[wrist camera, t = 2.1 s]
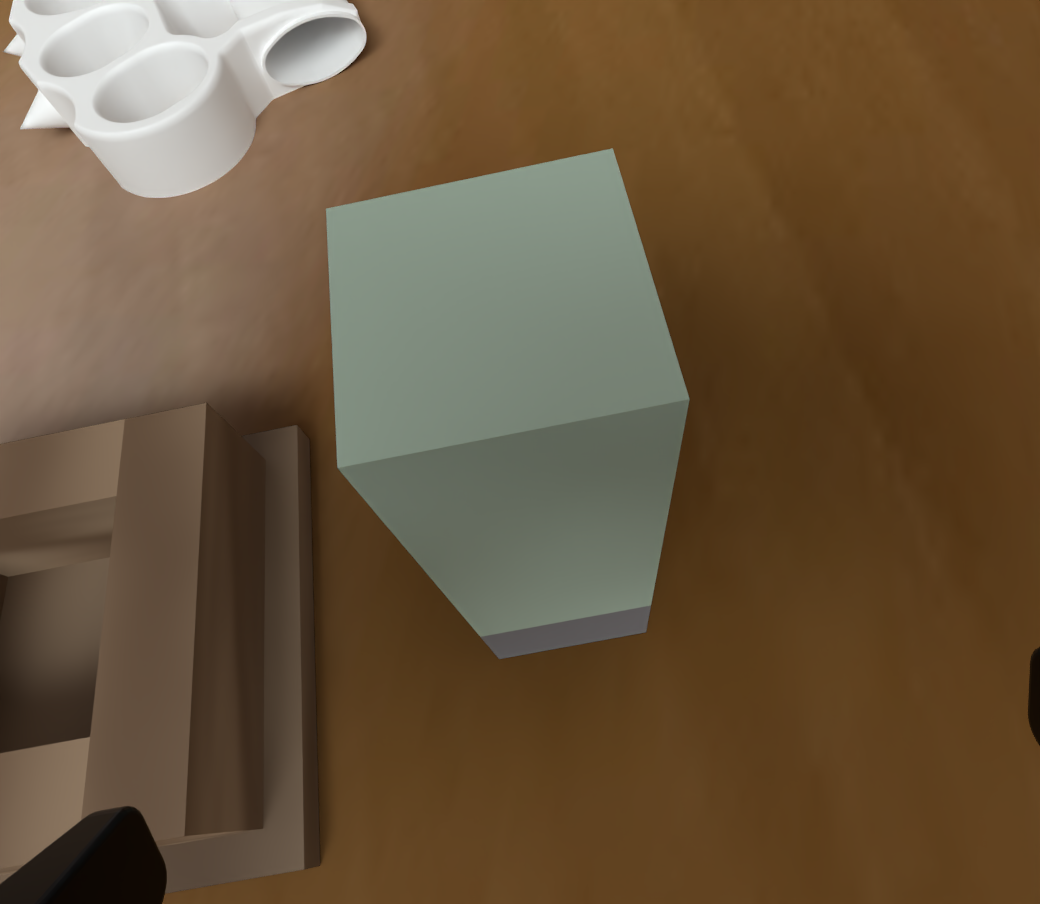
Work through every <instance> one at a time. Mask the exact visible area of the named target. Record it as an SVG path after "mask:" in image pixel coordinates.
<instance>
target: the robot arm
mask: <svg viewBox="0 0 1040 904" xmlns="http://www.w3.org/2000/svg"><path fill="white" fill-rule="evenodd" d="M1028 719H1029V724H1030V727H1031V730H1032V733H1033V735H1034V737H1035V739H1036V741H1037V742H1038V744H1039V745H1040V647H1039V648H1037V649H1035V651H1034V652H1033V654H1032V656H1031V660H1030V678H1029V700H1028ZM166 884H167V870H166V865H165V862H164V859H163V857H162V855H161V853H160V851H159V849H158V846H157V844H156V842H155V840H154V838H153V836H152V834H151V832H150V830H149V827H148V825H147V823H146V821H145V819H144V817H143V815H142V813H141V812H140V811H139V810H138V809H136V808H135V807H132V806H123V807H117V808H111V809H106V810H100V811H97V812H93V813H91V814H89V815H88V816H86V817H85V818H83V819H82V820H81V821H80V822H78V823H77V824H76V825H74V826H73V827H72V828H71V829H69V830H68V831H67V832H66V833H64V834H63V835H62V836H60V837H59V838H58V839H57V840H55V841H54V842H53V843H52V844H50V845H49V846H48V847H46V848H45V849H44V850H43V851H41V852H40V853H39V854H38V855H36V856H35V857H34V858H32V859H31V860H30V861H29V862H27V863H26V864H25V865H24V866H22V867H21V868H20V869H18V870H17V871H16V872H15V873H13V874H12V875H11V876H10V877H8V878H7V879H6V880H4V881H3V882H2V883H1V884H0V904H162V902H163V899H164V895H165V891H166Z"/></svg>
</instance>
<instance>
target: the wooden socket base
mask: <svg viewBox="0 0 1040 904" xmlns="http://www.w3.org/2000/svg"><path fill="white" fill-rule="evenodd" d="M123 806H132V807H135V808H136V809H138V810H139V811H140V812H141V813H142V815H143V817H144V819H145V821H146V823H147V825H148V827H149V830H150V832H151V834H152V836H153V838H154V840H155V842H156V844H157V846H158V849H159V851H160V853H161V855H162V857H163V859H164V862H165V865H166V870H167V884H166V891H165V893H171V892H177V891H182V890H188V889H194V888H200V887H205V886H211V885H217V884H223V883H229V882H234V881H240V880H246V879H252V878H257V877H263V876H269V875H275V874H281V873H286V872H292V871H298V870H304V869H308V868H312V867H317V866H320V840H319V800H318V759H317V719H316V679H315V639H314V598H313V558H312V518H311V477H310V439H309V438H308V437H307V436H306V435H305V434H304V432H303V431H302V430H301V429H300V428H299V427H298V425H294V426H289V427H284V428H279V429H274V430H269V431H264V432H259V433H254V434H249V435H244V436H240V435H239V434H238V433H237V432H236V431H235V430H234V429H233V428H232V427H231V426H230V425H229V424H228V423H227V422H226V421H225V420H224V419H223V418H222V417H221V416H220V415H219V414H218V413H216V412H215V411H214V410H213V409H212V408H211V407H210V406H209V405H208V404H207V403H203V404H198V405H193V406H188V407H183V408H178V409H173V410H168V411H163V412H158V413H153V414H148V415H143V416H138V417H133V418H128V419H123V420H118V421H113V422H108V423H103V424H98V425H93V426H88V427H83V428H78V429H73V430H68V431H63V432H58V433H53V434H48V435H43V436H38V437H33V438H28V439H23V440H18V441H13V442H8V443H3V444H0V884H1V883H2V882H3V881H4V880H6V879H7V878H8V877H10V876H11V875H12V874H13V873H15V872H16V871H17V870H18V869H20V868H21V867H22V866H24V865H25V864H26V863H27V862H29V861H30V860H31V859H32V858H34V857H35V856H36V855H38V854H39V853H40V852H41V851H43V850H44V849H45V848H46V847H48V846H49V845H50V844H52V843H53V842H54V841H55V840H57V839H58V838H59V837H60V836H62V835H63V834H64V833H66V832H67V831H68V830H69V829H71V828H72V827H73V826H74V825H76V824H77V823H78V822H80V821H81V820H82V819H83V818H85V817H86V816H88V815H89V814H91V813H93V812H97V811H100V810H106V809H111V808H117V807H123Z"/></svg>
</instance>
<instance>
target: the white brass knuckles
mask: <svg viewBox="0 0 1040 904" xmlns="http://www.w3.org/2000/svg"><path fill="white" fill-rule="evenodd" d="M9 22H10V25H11V26H12V28H13V29H14V30H15V31H16V33H17V35H16V36H15V37H14V39H13V40H12V41H11V43H10V44H9V45H8V46H7V48H6V49H5V50H4V51H3V52H5V53H9V54H13V55H17V56H21V58H20V60H19V65H20V67H21V69H22V70H23V71H24V73H25V74H26V75H27V76H28V77H29V79H30V80H31V81H32V82H33V84H34V85H35V86H36V87H37V89H38V90H39V91H38V93H37V95H36V97H35V99H34V101H33V103H32V105H31V107H30V109H29V111H28V114H27V116H26V118H25V120H24V122H23V124H22V126H21V128H20V129H43V128H70V129H71V130H72V131H73V132H74V133H75V135H76V136H77V137H78V138H79V139H80V140H81V142H82V143H83V144H84V145H85V146H87V147H90V148H91V149H92V151H93V152H94V153H95V154H96V156H97V157H98V158H99V159H100V161H101V162H102V163H103V164H104V166H105V167H106V168H107V169H108V171H109V172H110V173H111V174H112V176H113V177H114V178H115V179H116V180H117V182H118V183H119V184H120V185H121V187H122V188H124V189H125V190H127V191H128V192H131V193H133V194H136V195H139V196H143V197H150V198H165V197H173V196H178V195H183V194H186V193H190V192H193V191H195V190H198V189H200V188H203V187H205V186H207V185H209V184H211V183H212V182H214V181H216V180H217V179H219V178H220V177H222V176H223V175H225V174H226V173H227V172H229V171H230V170H231V169H232V168H233V167H234V166H235V165H236V164H237V163H238V162H239V161H240V160H241V159H242V158H243V156H244V155H245V154H246V152H247V151H248V149H249V147H250V145H251V143H252V141H253V138H254V135H255V130H256V118H257V117H258V115H259V114H260V113H261V112H262V111H263V110H264V109H265V108H266V107H267V105H268V104H269V103H270V102H271V101H272V100H273V99H275V98H277V97H279V96H282V95H284V94H286V93H289V92H291V91H294V90H296V89H298V88H301V87H303V86H305V85H310V84H314V83H318V82H321V81H324V80H326V79H329V78H331V77H333V76H335V75H336V74H338V73H340V72H341V71H342V70H344V69H345V68H346V67H348V66H349V65H350V64H351V63H352V62H353V61H354V60H355V59H356V58H357V57H358V55H359V54H360V53H361V52H362V50H363V48H364V46H365V43H366V31H365V28H364V26H363V24H362V23H361V21H360V18H359V14H358V11H357V9H356V8H355V6H354V5H353V4H351V3H348V1H347V0H13V4H12V8H11V13H10V17H9Z"/></svg>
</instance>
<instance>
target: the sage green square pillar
mask: <svg viewBox="0 0 1040 904" xmlns="http://www.w3.org/2000/svg"><path fill="white" fill-rule="evenodd" d="M326 219H327V242H328V265H329V287H330V310H331V333H332V356H333V378H334V401H335V424H336V447H337V468H338V469H339V470H340V472H341V473H342V474H343V475H344V476H345V478H346V479H347V480H348V481H349V482H350V483H351V485H352V486H353V487H354V488H355V489H356V491H357V492H358V493H359V494H360V495H361V496H362V498H363V499H364V500H365V501H366V502H367V504H368V505H369V506H370V507H371V508H372V509H373V511H374V512H375V513H376V514H377V515H378V517H379V518H380V519H381V520H382V521H383V522H384V524H385V525H386V526H387V527H388V528H389V530H390V531H391V532H392V533H393V534H394V535H395V537H396V538H397V539H398V540H399V541H400V543H401V544H402V545H403V546H404V547H405V548H406V550H407V551H408V552H409V553H410V554H411V555H412V557H413V558H414V559H415V560H416V561H417V563H418V564H419V565H420V566H421V567H422V568H423V570H424V571H425V572H426V573H427V574H428V576H429V577H430V578H431V579H432V580H433V581H434V583H435V584H436V585H437V586H438V587H439V589H440V590H441V591H442V592H443V593H444V594H445V596H446V597H447V598H448V599H449V600H450V602H451V603H452V604H453V605H454V606H455V607H456V609H457V610H458V611H459V612H460V613H461V615H462V616H463V617H464V618H465V619H466V620H467V622H468V623H469V624H470V625H471V626H472V628H473V629H474V630H475V631H476V632H477V633H478V635H479V636H480V637H481V638H482V639H483V640H484V642H485V643H486V644H487V645H488V646H489V648H490V649H491V650H492V651H493V652H494V653H495V655H496V656H497V657H498V658H499V659H503V658H508V657H514V656H519V655H525V654H530V653H536V652H541V651H546V650H552V649H557V648H563V647H568V646H574V645H579V644H585V643H590V642H596V641H601V640H607V639H612V638H617V637H623V636H628V635H634V634H639V633H645V632H646V629H647V624H648V619H649V613H650V608H651V603H652V597H653V592H654V587H655V581H656V576H657V571H658V565H659V560H660V555H661V549H662V544H663V539H664V533H665V528H666V522H667V517H668V512H669V506H670V501H671V496H672V490H673V485H674V480H675V474H676V469H677V464H678V458H679V453H680V448H681V442H682V437H683V431H684V426H685V421H686V415H687V410H688V405H689V396H688V393H687V389H686V386H685V383H684V379H683V376H682V373H681V370H680V366H679V363H678V360H677V357H676V353H675V350H674V347H673V344H672V340H671V337H670V334H669V331H668V327H667V324H666V321H665V317H664V314H663V311H662V308H661V304H660V301H659V298H658V295H657V291H656V288H655V285H654V282H653V278H652V275H651V272H650V268H649V265H648V262H647V259H646V255H645V252H644V249H643V246H642V242H641V239H640V236H639V233H638V229H637V226H636V223H635V220H634V216H633V213H632V210H631V206H630V203H629V200H628V197H627V193H626V190H625V187H624V184H623V180H622V177H621V174H620V171H619V167H618V164H617V161H616V157H615V154H614V151H613V149H608V150H603V151H598V152H594V153H589V154H584V155H579V156H575V157H570V158H565V159H560V160H556V161H551V162H546V163H541V164H537V165H532V166H527V167H522V168H518V169H513V170H508V171H503V172H499V173H494V174H489V175H484V176H480V177H475V178H470V179H465V180H461V181H456V182H451V183H446V184H442V185H437V186H432V187H427V188H423V189H418V190H413V191H408V192H404V193H399V194H394V195H389V196H385V197H380V198H375V199H370V200H366V201H361V202H356V203H351V204H346V205H342V206H337V207H332V208H327V209H326Z"/></svg>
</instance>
